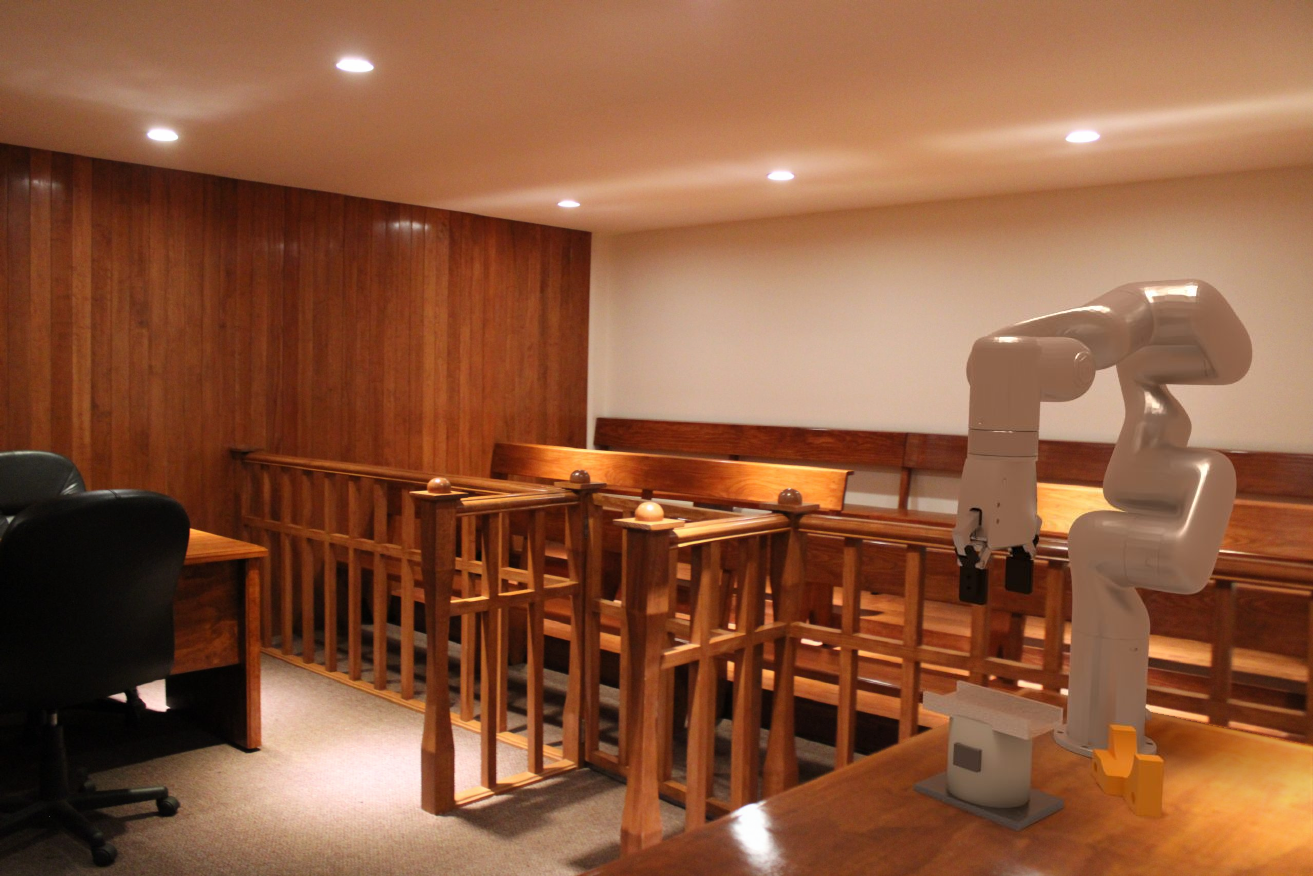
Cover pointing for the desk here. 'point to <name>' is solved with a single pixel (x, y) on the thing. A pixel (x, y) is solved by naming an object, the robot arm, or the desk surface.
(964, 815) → the desk surface
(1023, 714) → the cylinder with tray top
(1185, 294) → the robot arm
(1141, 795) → the pipe clamp
